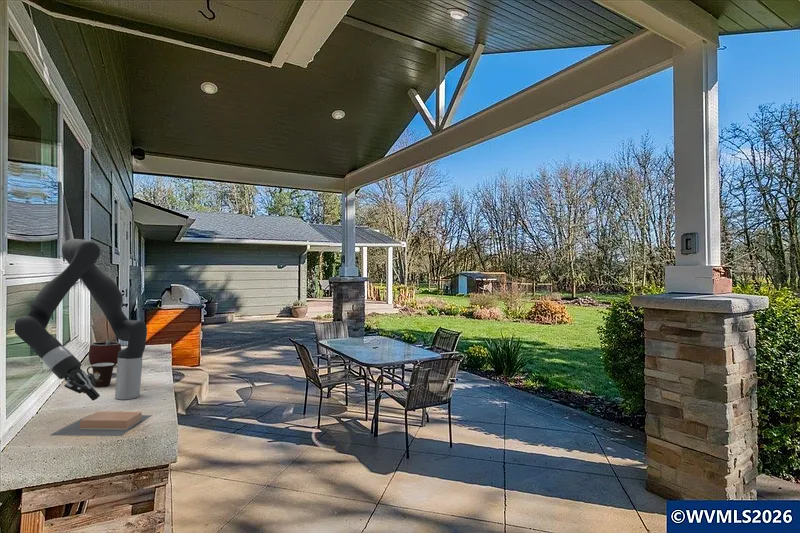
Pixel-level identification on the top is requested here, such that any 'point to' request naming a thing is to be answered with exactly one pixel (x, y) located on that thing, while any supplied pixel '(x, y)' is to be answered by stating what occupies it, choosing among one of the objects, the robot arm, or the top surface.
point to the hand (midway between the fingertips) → (96, 398)
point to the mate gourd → (104, 353)
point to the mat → (76, 431)
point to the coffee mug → (102, 374)
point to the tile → (111, 420)
